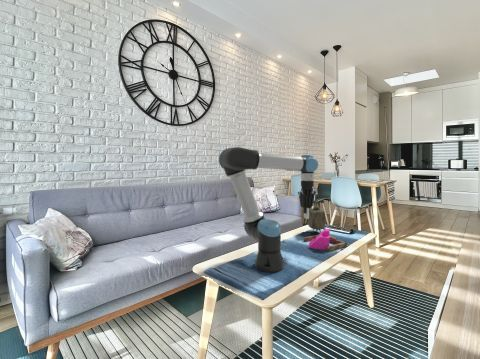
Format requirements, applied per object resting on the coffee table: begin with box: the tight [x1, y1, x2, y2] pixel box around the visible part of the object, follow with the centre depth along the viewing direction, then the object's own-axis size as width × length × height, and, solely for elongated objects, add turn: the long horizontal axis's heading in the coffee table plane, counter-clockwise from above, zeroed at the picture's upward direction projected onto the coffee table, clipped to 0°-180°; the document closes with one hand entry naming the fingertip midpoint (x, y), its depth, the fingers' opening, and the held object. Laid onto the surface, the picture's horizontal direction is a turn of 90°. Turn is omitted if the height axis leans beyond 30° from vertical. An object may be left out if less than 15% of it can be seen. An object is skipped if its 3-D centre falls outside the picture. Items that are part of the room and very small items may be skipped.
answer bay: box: [303, 233, 348, 252], centre depth 162 cm, size 16×22×3 cm
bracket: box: [308, 228, 331, 251], centre depth 158 cm, size 12×10×10 cm
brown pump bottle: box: [307, 199, 326, 233], centre depth 186 cm, size 14×9×25 cm, turn 179°
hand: (306, 218), depth 154 cm, fingers closed
